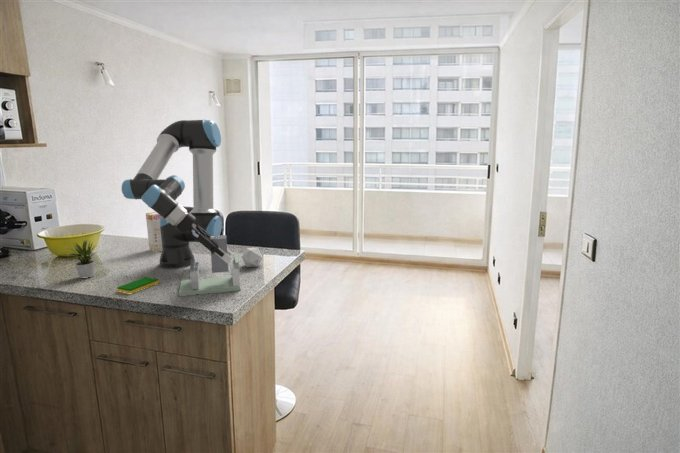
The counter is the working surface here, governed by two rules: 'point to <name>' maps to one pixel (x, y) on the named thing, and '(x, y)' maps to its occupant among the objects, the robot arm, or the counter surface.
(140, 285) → the dish sponge
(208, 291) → the vise bed
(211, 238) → the steel block
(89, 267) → the house plant
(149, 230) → the coffeecake box
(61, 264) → the counter surface
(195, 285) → the sliding jaw
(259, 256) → the die
